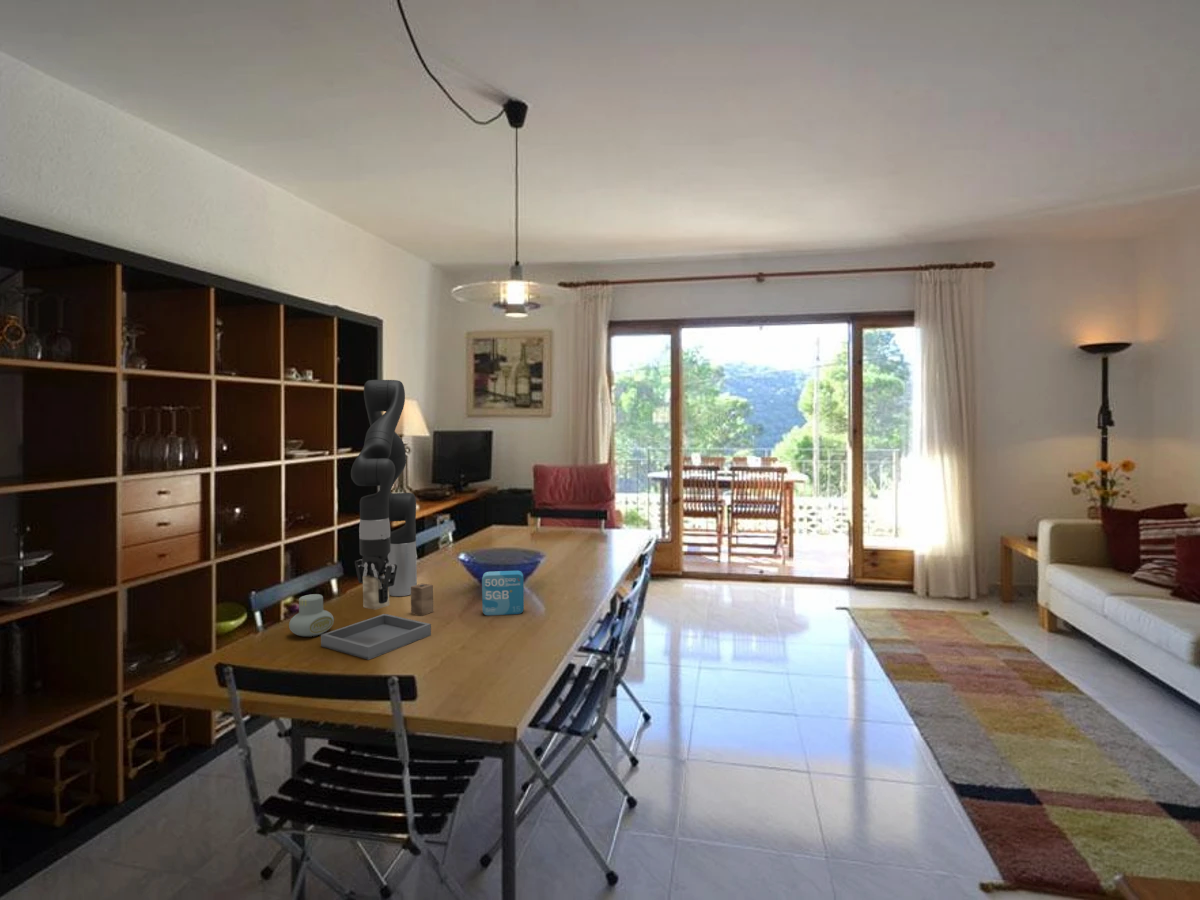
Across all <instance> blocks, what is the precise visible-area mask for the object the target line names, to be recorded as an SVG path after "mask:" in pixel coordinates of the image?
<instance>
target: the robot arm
mask: <svg viewBox="0 0 1200 900" xmlns="http://www.w3.org/2000/svg"><path fill="white" fill-rule="evenodd" d="M363 386H364V387H363V399H364V403H365V404H364V405H365V409H366V412H367V417H368V421H369V426H370V427H369V428H368V429H367V431H366V433H365V438H364V443H363V444H364V445H363V447H362V449H361V451H360V453H359V454H358V455H357V457H356V458H355V460H354V462H353V463H352V466H351V470H350V477H351V480H352V482H353V484H355V485H356V486H359V487H377V486H378V487H379V490H378V491H377V492H375V493H373V494H368V495H363V496H362V497H361V498H360V500H359V528H358V532H359V535H358V536H359V555H360V556H361V557H362V559H358V560H354V565H355V566H354V567H355V571H356V572H355V573H356V576H357V581H358V583H359V584H363V576H368V575H374V577H375V578H376V580H377V581H378V587H379V589H378V591H379V603H381V604H382V603H385V602H387V600H388V587H389V596H391V597H404V596H405V597H406V596H411V586H415V585H418V584H417V583H418V581H417V579H418V578H417V575H418V572H417V540H416V539H417V534H416V532H417V531H416V530H417V529H416V528H417V527H416V520H417V518H416V517H417V516H416V515H417V499H416V495H415V494H414V493H413V492H392V488H393V486H394V484H395V483H396V481H397V479H398V478H399V477H400V476H401V474H402V472H403V471H404V469H405V467H406V465H407V456H406V455H407V454H406V447H405V443H404V441H403V439H402V438H401V437H400V435H399V434H397V432H396V429H397V426H398V423H399V422H400V419H401V416H402V413H403V410H404V406H405V403H406V402H405V401H406V392H405V391H406V390H405V386H404V384H403V382H402V381H401V380H397V379H369V380H367V381H366V382H365V383H364V385H363ZM382 412H384V414H382ZM390 522H404V525H402V526H401V527H400V528H398V529H395V530H393V531H391V524H390ZM383 574H384V575H383ZM379 575H383V576H381V577H380V576H379ZM382 579H384V583H383V584H382Z"/></svg>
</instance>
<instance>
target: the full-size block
mask: <svg viewBox="0 0 1200 900" xmlns="http://www.w3.org/2000/svg"><path fill="white" fill-rule="evenodd" d="M433 612H434V585H433V584H429V583H428V584H427V583H419V584H417V585H415V586H411V595H410V614H411V615H417V616H425V615H427V614H431V613H433Z"/></svg>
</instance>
